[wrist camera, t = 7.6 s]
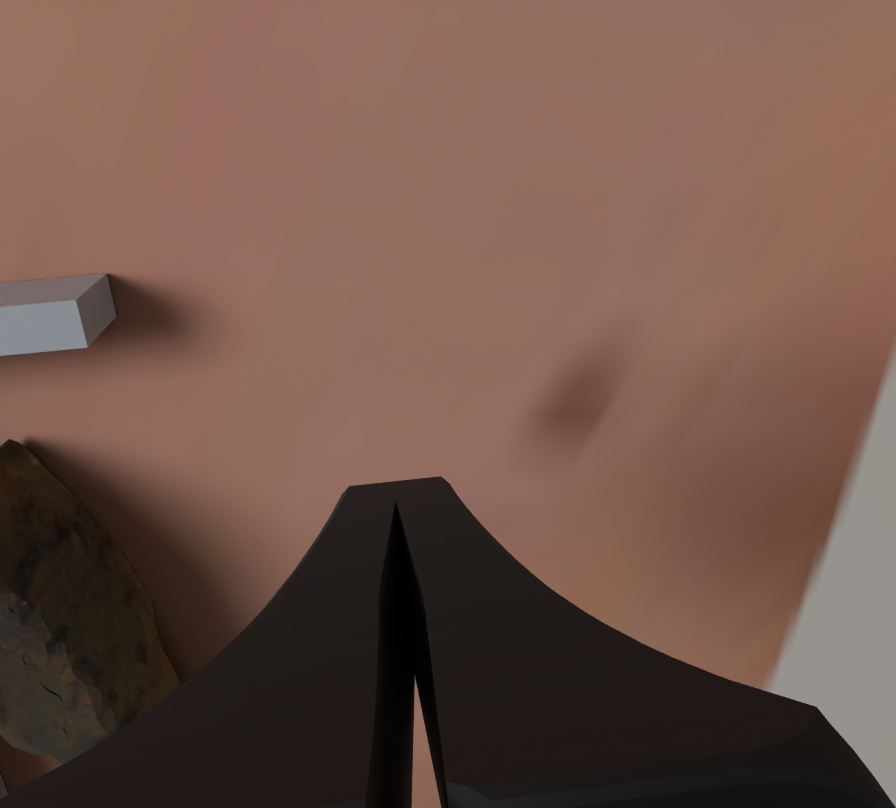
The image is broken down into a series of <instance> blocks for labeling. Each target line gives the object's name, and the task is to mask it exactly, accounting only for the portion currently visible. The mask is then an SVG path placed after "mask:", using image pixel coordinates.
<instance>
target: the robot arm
mask: <svg viewBox="0 0 896 808" xmlns="http://www.w3.org/2000/svg"><path fill="white" fill-rule="evenodd" d="M415 678H416V683H417V688H418V693H419V698H420V703H421V708H422V713H423V718H424V723H425V728H426V733H427V738H428V743H429V748H430V753H431V758H432V763H433V768H434V773H435V778H436V783H437V788H438V793H439V798H440V803H441V808H895V806H894V804H893V803H892V802H891V800H890V799H889V797H888V796H887V795H886V793H885V792H884V790H883V789H882V787H881V786H880V785H879V783H878V782H877V780H876V779H875V777H874V776H873V775H872V773H871V772H870V771H869V770H868V768H867V767H866V766H865V764H864V763H863V762H862V761H861V759H860V758H859V757H858V755H857V754H856V753H855V751H854V750H853V749H852V748H851V747H850V746H849V745H848V744H847V742H846V741H845V740H844V739H843V738H842V737H841V736H840V734H839V733H838V732H837V731H836V730H835V729H834V728H833V727H832V725H831V724H830V723H829V722H828V721H827V719H826V718H825V717H824V716H823V715H822V713H821V712H820V711H819V709H818V708H817V707H815V706H812V705H808V704H805V703H802V702H798V701H796V700H792V699H789V698H786V697H783V696H779V695H776V694H773V693H770V692H767V691H763V690H760V689H757V688H754V687H750V686H747V685H744V684H741V683H738V682H734V681H731V680H728V679H725V678H723V677H720V676H717V675H715V674H712V673H710V672H707V671H705V670H702V669H700V668H697V667H695V666H692V665H690V664H687V663H685V662H682V661H680V660H677V659H675V658H672V657H670V656H668V655H666V654H664V653H662V652H659V651H657V650H655V649H653V648H651V647H649V646H646V645H644V644H642V643H640V642H638V641H636V640H635V639H633V638H631V637H629V636H627V635H625V634H623V633H621V632H620V631H618V630H616V629H614V628H612V627H610V626H608V625H606V624H604V623H603V622H601V621H599V620H598V619H596V618H594V617H593V616H591V615H589V614H588V613H586V612H584V611H583V610H581V609H580V608H578V607H577V606H575V605H574V604H572V603H571V602H569V601H568V600H566V599H565V598H563V597H562V596H560V595H559V594H558V593H556V592H555V591H553V590H552V589H550V588H549V587H548V586H547V585H545V584H544V583H543V582H542V581H540V580H539V579H538V578H537V577H536V576H534V575H533V574H532V573H531V572H530V571H529V570H528V569H526V568H525V567H524V566H523V565H522V564H521V563H519V562H518V561H517V560H516V559H515V558H514V557H513V556H512V555H511V554H510V553H509V552H508V551H507V550H506V549H505V548H504V547H503V546H502V545H501V544H500V543H499V542H498V541H497V540H496V539H495V538H494V537H493V536H492V535H491V534H490V533H489V532H488V531H487V530H486V529H485V528H484V527H483V526H482V525H481V524H480V522H479V521H478V520H477V519H476V518H475V517H474V516H473V514H472V513H471V512H470V511H469V510H468V508H467V507H466V506H465V505H464V504H463V502H462V501H461V500H460V498H459V497H458V496H457V494H456V493H455V491H454V490H453V488H452V487H451V485H450V484H449V483H448V482H447V481H446V480H445V479H443V478H442V477H441V476H440V477H431V478H422V479H412V480H403V481H394V482H384V483H375V484H366V485H356V486H349V487H348V488H347V489H346V491H345V492H344V493H343V494H342V495H341V497H340V499H339V501H338V503H337V505H336V507H335V509H334V510H333V512H332V514H331V516H330V517H329V519H328V521H327V522H326V524H325V526H324V527H323V529H322V530H321V532H320V534H319V535H318V537H317V538H316V540H315V541H314V543H313V544H312V546H311V547H310V549H309V550H308V551H307V553H306V554H305V556H304V557H303V559H302V560H301V562H300V563H299V565H298V566H297V567H296V569H295V570H294V571H293V573H292V574H291V575H290V576H289V578H288V579H287V580H286V581H285V583H284V584H283V585H282V586H281V588H280V589H279V590H278V591H277V593H276V594H275V595H274V596H273V598H272V599H271V600H270V601H269V603H268V604H267V605H266V606H265V607H264V609H263V610H262V611H261V612H260V613H259V614H258V615H257V616H256V617H255V619H254V620H253V621H252V622H251V623H250V624H249V625H248V626H247V627H246V628H245V629H244V630H243V631H242V632H241V633H240V634H239V635H238V636H237V637H236V638H235V639H234V640H233V641H232V642H231V643H230V644H229V645H228V646H227V647H226V648H225V649H224V650H222V651H221V652H220V653H219V654H218V655H217V656H216V657H215V658H213V659H212V660H211V661H210V662H208V663H207V664H206V665H205V666H204V667H202V668H201V669H200V670H199V671H197V672H196V673H195V674H194V675H192V676H191V677H190V678H189V679H188V680H186V681H185V682H184V683H183V684H181V685H180V686H179V687H178V688H177V689H175V690H174V691H173V692H172V693H170V694H169V695H168V696H167V697H165V698H164V699H163V700H161V701H160V702H159V703H157V704H156V705H155V706H153V707H152V708H150V709H149V710H147V711H146V712H145V713H143V714H142V715H140V716H139V717H138V718H136V719H135V720H133V721H132V722H130V723H129V724H128V725H126V726H124V727H123V728H121V729H120V730H118V731H117V732H115V733H114V734H112V735H111V736H109V737H108V738H106V739H104V740H103V741H101V742H100V743H98V744H97V745H95V746H94V747H92V748H90V749H89V750H87V751H85V752H84V753H82V754H81V755H79V756H77V757H76V758H74V759H72V760H71V761H69V762H67V763H65V764H63V765H62V766H60V767H58V768H56V769H54V770H53V771H51V772H49V773H47V774H45V775H44V776H42V777H40V778H38V779H36V780H35V781H33V782H31V783H29V784H27V785H25V786H24V787H22V788H20V789H18V790H16V791H15V792H13V793H11V794H9V795H7V796H6V797H4V798H2V799H0V808H411V805H412V767H413V728H414V685H415Z"/></svg>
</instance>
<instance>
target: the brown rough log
mask: <svg viewBox="0 0 896 808" xmlns="http://www.w3.org/2000/svg"><path fill="white" fill-rule="evenodd" d="M180 685H181V683H180V681H179V679H178V677H177V675H176V673H175V671H174V669H173V667H172V665H171V664H170V662H169V660H168V658H167V656H166V654H165V653H164V651H163V648H162V644H161V641H160V637H159V634H158V631H157V627H156V623H155V620H154V602H153V601H152V599H151V597H150V595H149V593H148V591H147V590H146V588H145V586H144V585H143V583H142V581H141V580H140V578H139V577H138V575H137V573H136V572H135V570H134V569H133V568H132V566H131V565H130V563H129V562H128V560H127V559H126V558H125V556H124V555H123V553H122V552H121V550H120V549H119V548H118V547H117V545H116V544H115V543H114V542H113V541H112V539H111V538H110V537H109V536H108V535H107V533H106V532H105V531H104V530H103V529H102V527H101V526H100V525H99V524H98V523H97V521H96V520H95V519H94V518H93V517H92V516H91V515H90V513H89V512H88V511H87V510H86V509H85V508H84V506H83V505H82V504H81V503H80V502H79V501H78V500H77V499H76V498H75V497H74V495H73V494H72V493H71V492H70V491H69V490H68V489H67V488H66V487H65V486H64V485H63V484H62V483H61V482H60V481H59V480H58V479H57V477H55V476H54V475H53V474H52V473H51V472H50V471H49V470H48V469H47V468H46V467H45V466H44V465H43V464H41V463H40V462H39V461H38V459H37V458H36V457H35V456H34V455H33V454H32V453H31V452H30V451H29V450H28V449H27V448H25V447H24V446H23V445H22V444H20V443H19V442H16V441H13V440H11V439H9V440H7V441H6V442H5V443H4V444H2V445H1V446H0V734H1V735H2V736H3V737H4V739H5V740H6V741H7V742H8V743H9V744H10V745H11V746H12V747H15V748H17V749H20V750H23V751H26V752H28V753H31V754H34V755H44V754H50V755H51V756H52V757H53V759H54V760H55V762H56V763H57V765H58V766H59V767H60V766H62V765H63V764H65V763H67V762H69V761H71V760H72V759H74V758H76V757H77V756H79V755H81V754H82V753H84V752H85V751H87V750H89V749H90V748H92V747H94V746H95V745H97V744H98V743H100V742H101V741H103V740H104V739H106V738H108V737H109V736H111V735H112V734H114V733H115V732H117V731H118V730H120V729H121V728H123V727H124V726H126V725H128V724H129V723H130V722H132V721H133V720H135V719H136V718H138V717H139V716H140V715H142V714H143V713H145V712H146V711H147V710H149V709H150V708H152V707H153V706H155V705H156V704H157V703H159V702H160V701H161V700H163V699H164V698H165V697H167V696H168V695H169V694H170V693H172V692H173V691H174V690H175V689H177V688H178V687H179V686H180Z"/></svg>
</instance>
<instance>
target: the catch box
mask: <svg viewBox="0 0 896 808" xmlns="http://www.w3.org/2000/svg"><path fill="white" fill-rule="evenodd" d="M116 317H117V316H116V312H115V307H114V303H113V299H112V294H111V290H110V286H109V282H108V277H107V273H104V274H93V275H82V276H71V277H61V278H50V279H39V280H28V281H17V282H6V283H0V356H6V355H16V354H27V353H37V352H47V351H58V350H68V349H79V348H88V347H89V346H90V345H91V344H92V342H93V341H94V340H95V339H96V338H97V337H98V336H99V335H100V334H101V333H102V332H103V331H104V330H105V328H106V327H107V326H108V325H109V324H110V323H111V322H112V321H113V320H114V319H115V318H116ZM7 795H8V793H7V790H6V787H5V784H4V782H3V779H2V776H1V773H0V799H2V798H4V797H6V796H7Z"/></svg>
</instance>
